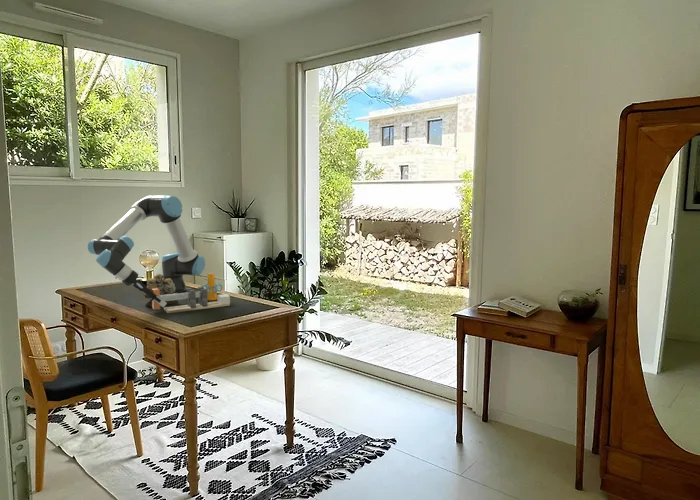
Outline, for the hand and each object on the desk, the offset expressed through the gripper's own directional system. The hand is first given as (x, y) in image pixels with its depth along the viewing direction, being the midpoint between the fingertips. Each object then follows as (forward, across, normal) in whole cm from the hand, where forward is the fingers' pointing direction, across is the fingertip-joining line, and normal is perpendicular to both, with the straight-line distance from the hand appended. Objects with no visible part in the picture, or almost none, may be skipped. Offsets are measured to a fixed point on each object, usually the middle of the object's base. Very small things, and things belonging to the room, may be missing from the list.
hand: (163, 304), depth 244 cm
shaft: (+6, 0, +4) cm, 7 cm away
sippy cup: (+23, -15, +18) cm, 33 cm away
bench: (+14, 0, +8) cm, 16 cm away
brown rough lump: (+4, -17, -2) cm, 18 cm away
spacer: (+21, +1, +22) cm, 31 cm away
